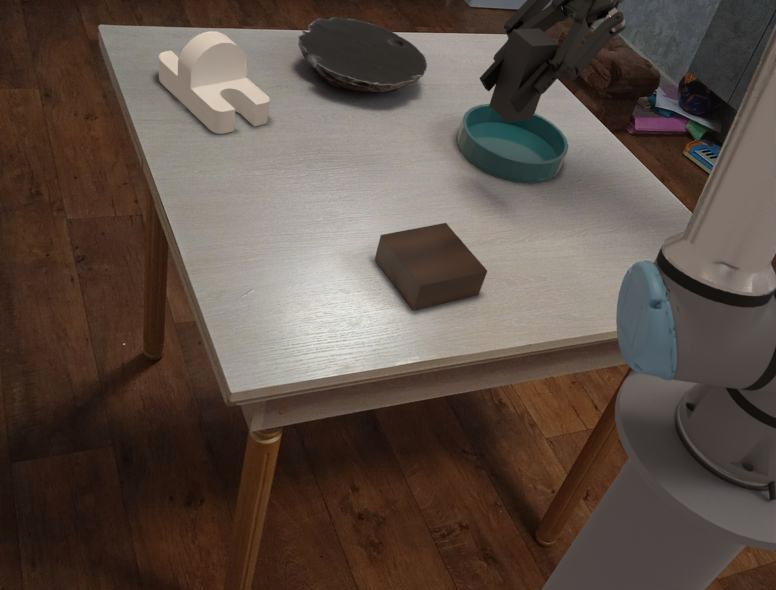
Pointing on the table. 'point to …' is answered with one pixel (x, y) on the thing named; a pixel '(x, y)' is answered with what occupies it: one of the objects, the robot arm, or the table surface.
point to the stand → (430, 265)
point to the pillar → (521, 71)
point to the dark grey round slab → (361, 55)
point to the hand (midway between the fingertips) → (499, 95)
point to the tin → (512, 145)
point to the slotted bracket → (214, 82)
